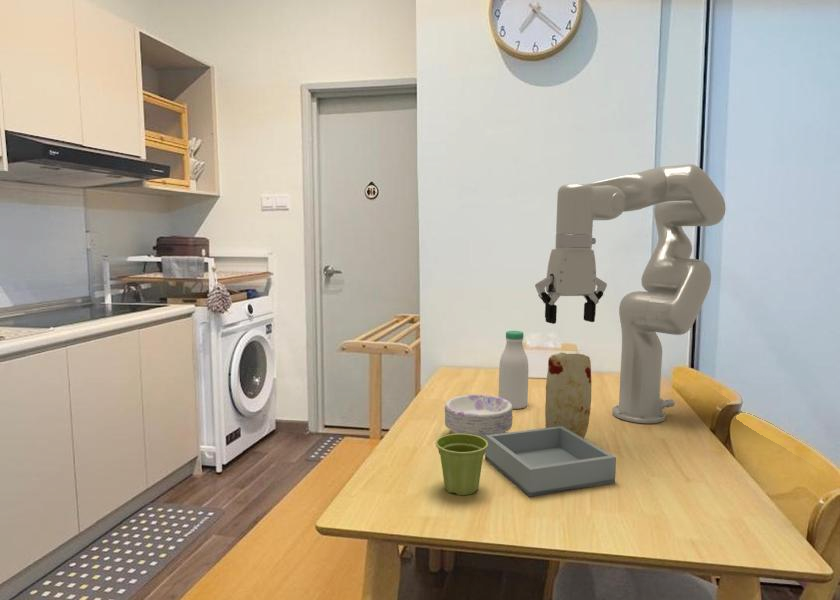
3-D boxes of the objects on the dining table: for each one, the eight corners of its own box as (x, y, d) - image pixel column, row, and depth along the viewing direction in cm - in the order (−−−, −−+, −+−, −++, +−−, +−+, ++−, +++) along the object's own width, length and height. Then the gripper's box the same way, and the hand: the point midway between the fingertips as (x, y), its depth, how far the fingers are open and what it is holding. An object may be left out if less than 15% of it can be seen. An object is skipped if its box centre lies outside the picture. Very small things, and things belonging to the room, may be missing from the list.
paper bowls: (435, 444, 126) (435, 409, 125) (455, 422, 140) (455, 391, 139) (504, 453, 121) (505, 417, 120) (517, 430, 135) (518, 397, 134)
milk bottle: (529, 409, 151) (531, 334, 148) (500, 409, 151) (501, 334, 148) (524, 401, 158) (527, 329, 156) (496, 401, 158) (498, 329, 156)
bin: (561, 448, 124) (561, 426, 123) (615, 483, 107) (616, 457, 106) (484, 458, 118) (485, 435, 117) (529, 497, 101) (530, 469, 100)
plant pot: (444, 503, 98) (445, 454, 97) (428, 480, 107) (428, 435, 106) (495, 496, 101) (496, 449, 100) (475, 475, 110) (476, 431, 109)
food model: (543, 443, 127) (546, 354, 124) (544, 433, 133) (547, 348, 131) (590, 447, 124) (593, 356, 122) (588, 436, 131) (592, 350, 128)
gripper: (596, 243, 130) (593, 318, 132) (529, 242, 124) (526, 320, 126) (618, 243, 123) (614, 323, 125) (547, 243, 117) (544, 326, 119)
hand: (570, 322), depth 125 cm, fingers open, 9 cm apart
